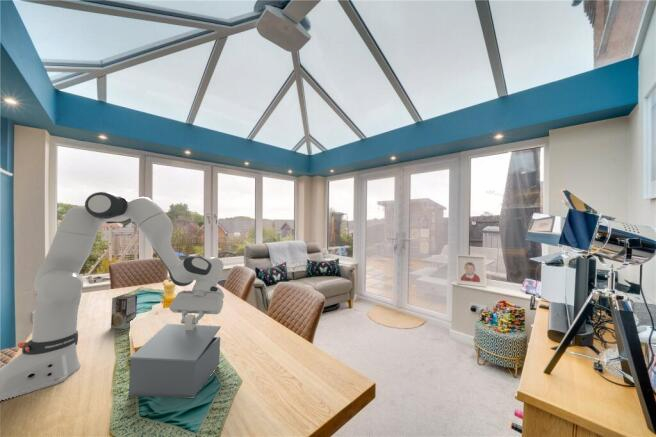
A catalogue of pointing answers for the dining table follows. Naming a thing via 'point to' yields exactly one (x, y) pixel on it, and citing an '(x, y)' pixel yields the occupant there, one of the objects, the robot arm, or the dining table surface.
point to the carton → (173, 374)
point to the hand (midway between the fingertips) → (188, 323)
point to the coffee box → (123, 311)
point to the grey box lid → (178, 342)
